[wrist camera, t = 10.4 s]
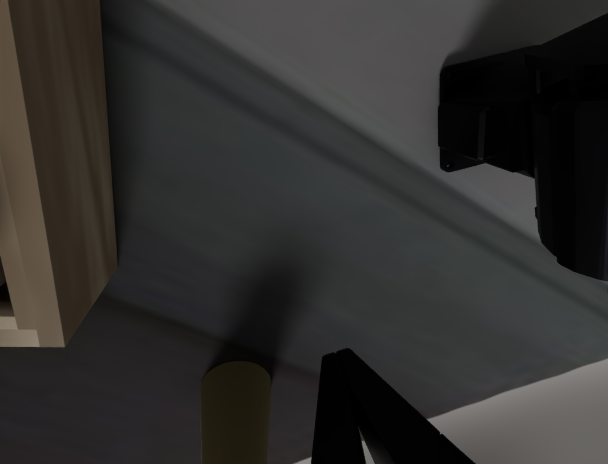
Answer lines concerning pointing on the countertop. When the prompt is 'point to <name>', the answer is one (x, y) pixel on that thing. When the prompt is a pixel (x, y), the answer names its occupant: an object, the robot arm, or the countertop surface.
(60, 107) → the button box
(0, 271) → the button
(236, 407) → the cork
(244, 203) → the countertop surface
